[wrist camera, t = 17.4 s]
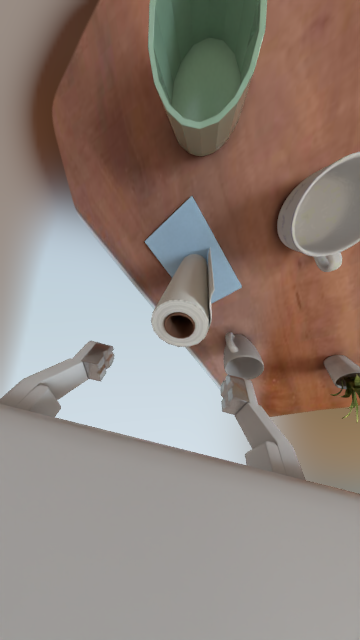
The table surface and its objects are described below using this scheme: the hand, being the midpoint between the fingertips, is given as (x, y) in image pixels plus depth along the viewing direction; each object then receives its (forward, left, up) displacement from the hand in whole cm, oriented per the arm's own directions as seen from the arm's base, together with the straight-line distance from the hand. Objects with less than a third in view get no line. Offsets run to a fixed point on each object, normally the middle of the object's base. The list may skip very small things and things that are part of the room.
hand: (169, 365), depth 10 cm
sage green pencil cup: (-4, +21, -27) cm, 35 cm away
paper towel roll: (+1, 0, -27) cm, 27 cm away
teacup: (+17, +11, -27) cm, 34 cm away
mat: (0, 0, -27) cm, 27 cm away
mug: (+16, -17, -27) cm, 36 cm away
